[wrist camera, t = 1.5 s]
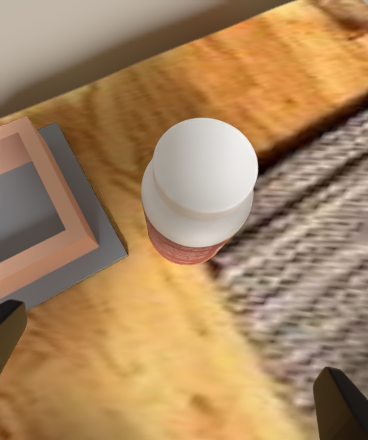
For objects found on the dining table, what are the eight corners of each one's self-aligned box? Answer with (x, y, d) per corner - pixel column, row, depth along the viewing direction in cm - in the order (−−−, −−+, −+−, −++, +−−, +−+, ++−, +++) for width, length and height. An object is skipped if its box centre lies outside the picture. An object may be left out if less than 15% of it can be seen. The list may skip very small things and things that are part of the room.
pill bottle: (219, 272, 22) (272, 242, 11) (141, 260, 22) (121, 218, 11) (227, 199, 24) (279, 114, 13) (155, 187, 24) (149, 92, 13)
